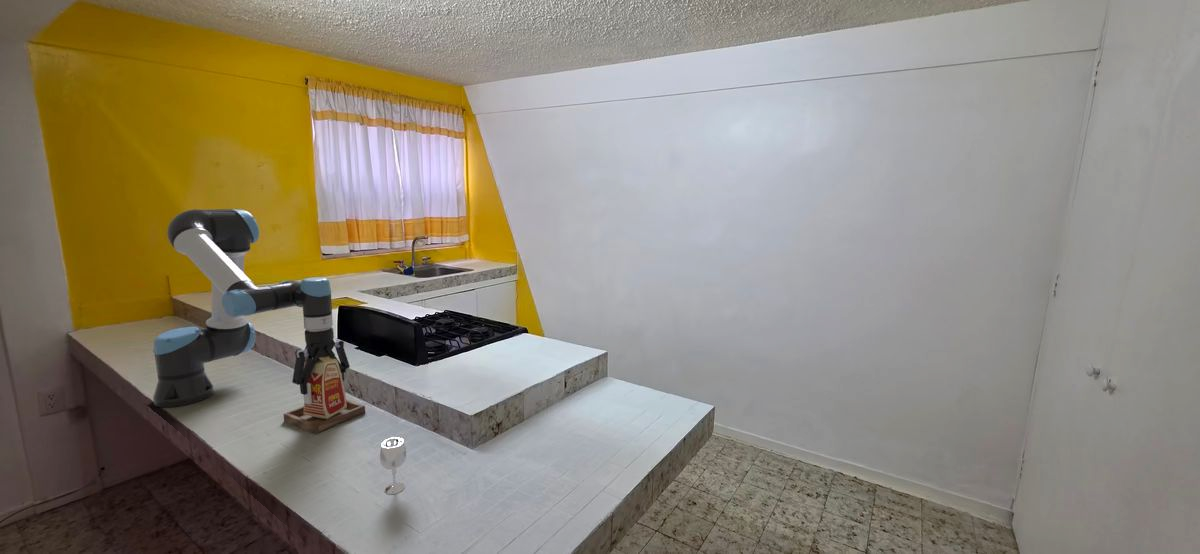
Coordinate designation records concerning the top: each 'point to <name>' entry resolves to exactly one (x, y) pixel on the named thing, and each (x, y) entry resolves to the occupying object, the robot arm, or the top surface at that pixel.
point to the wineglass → (393, 461)
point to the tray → (322, 424)
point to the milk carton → (326, 389)
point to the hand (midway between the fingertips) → (324, 397)
